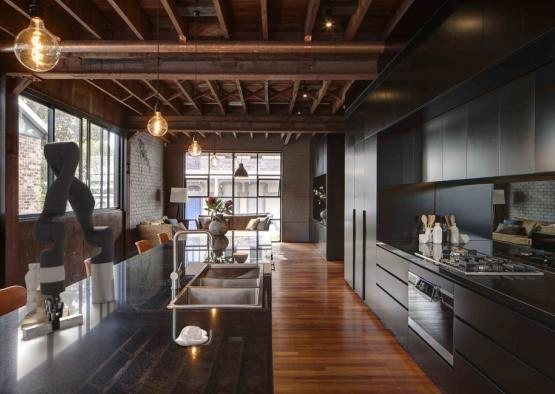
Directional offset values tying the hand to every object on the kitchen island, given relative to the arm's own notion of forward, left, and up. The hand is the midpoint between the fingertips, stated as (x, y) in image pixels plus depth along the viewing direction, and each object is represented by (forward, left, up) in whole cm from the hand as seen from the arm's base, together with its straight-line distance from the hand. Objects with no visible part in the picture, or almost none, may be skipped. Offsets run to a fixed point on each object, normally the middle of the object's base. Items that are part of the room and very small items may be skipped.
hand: (54, 328), depth 126 cm
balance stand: (+3, -15, 0) cm, 16 cm away
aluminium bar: (0, 0, 0) cm, 0 cm away
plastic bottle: (+8, -29, 0) cm, 30 cm away
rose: (-39, +37, -1) cm, 54 cm away
